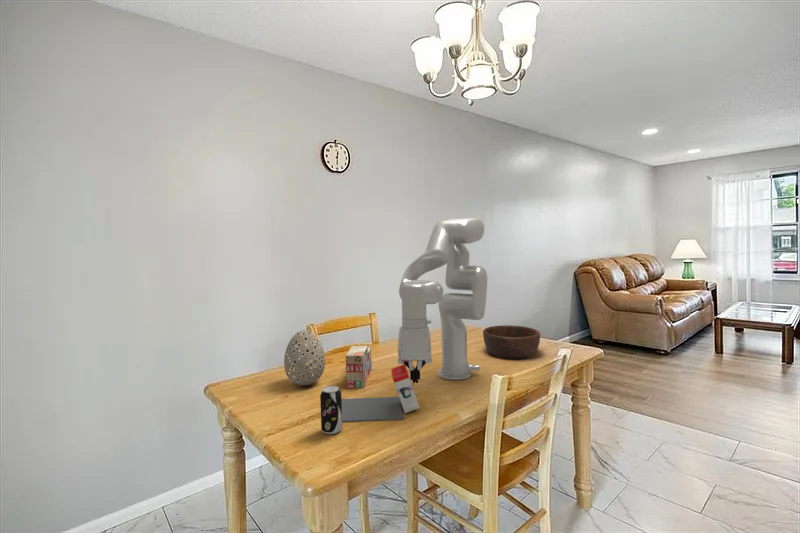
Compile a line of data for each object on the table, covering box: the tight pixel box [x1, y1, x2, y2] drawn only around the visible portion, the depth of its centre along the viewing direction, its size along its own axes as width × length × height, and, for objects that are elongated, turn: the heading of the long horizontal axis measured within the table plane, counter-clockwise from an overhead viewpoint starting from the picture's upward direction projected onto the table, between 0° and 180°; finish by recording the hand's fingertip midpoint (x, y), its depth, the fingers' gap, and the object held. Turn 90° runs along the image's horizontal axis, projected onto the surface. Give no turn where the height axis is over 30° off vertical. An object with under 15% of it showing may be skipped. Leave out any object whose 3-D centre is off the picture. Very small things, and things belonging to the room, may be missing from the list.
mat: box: [342, 396, 404, 423], centre depth 123 cm, size 20×16×1 cm
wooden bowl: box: [482, 324, 541, 360], centre depth 179 cm, size 25×25×10 cm
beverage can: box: [319, 385, 343, 435], centre depth 109 cm, size 6×6×12 cm
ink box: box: [391, 362, 420, 414], centre depth 123 cm, size 8×5×15 cm, turn 5°
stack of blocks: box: [345, 345, 373, 389], centre depth 150 cm, size 21×6×12 cm, turn 176°
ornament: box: [283, 329, 326, 386], centre depth 145 cm, size 15×15×20 cm
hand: (415, 381), depth 123 cm, fingers closed
